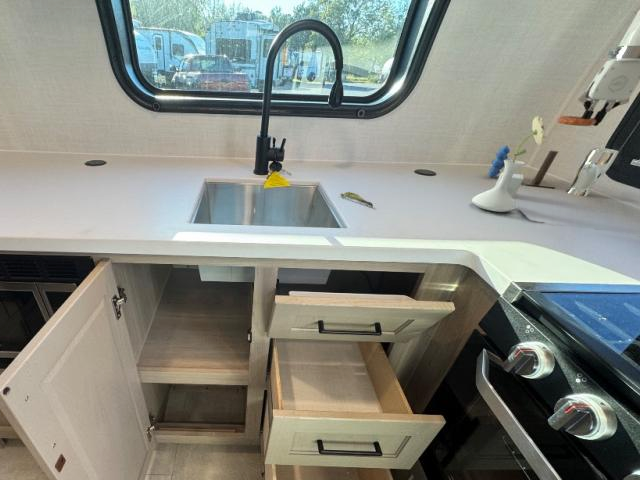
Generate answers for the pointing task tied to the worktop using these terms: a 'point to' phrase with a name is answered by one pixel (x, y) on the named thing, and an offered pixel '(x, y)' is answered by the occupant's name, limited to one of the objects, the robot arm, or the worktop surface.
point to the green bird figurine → (356, 198)
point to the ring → (576, 121)
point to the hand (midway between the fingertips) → (588, 124)
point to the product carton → (512, 183)
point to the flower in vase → (508, 177)
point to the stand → (542, 173)
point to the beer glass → (591, 170)
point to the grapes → (499, 161)
